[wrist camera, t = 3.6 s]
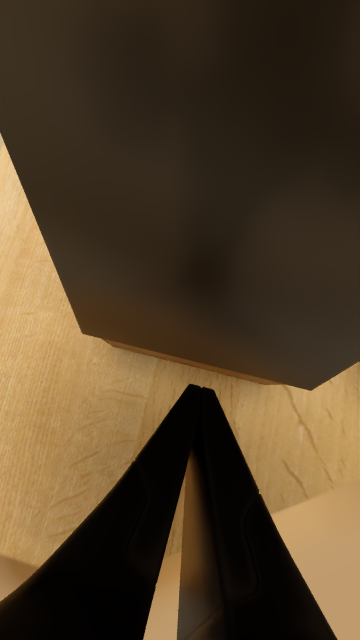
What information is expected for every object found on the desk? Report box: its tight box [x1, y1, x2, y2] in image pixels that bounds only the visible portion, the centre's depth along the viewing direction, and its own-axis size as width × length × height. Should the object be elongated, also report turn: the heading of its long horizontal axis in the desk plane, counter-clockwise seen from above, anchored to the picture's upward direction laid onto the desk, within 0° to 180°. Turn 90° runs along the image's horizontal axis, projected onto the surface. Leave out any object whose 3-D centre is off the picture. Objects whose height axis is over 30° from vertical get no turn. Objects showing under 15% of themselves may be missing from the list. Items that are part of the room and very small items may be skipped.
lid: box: [0, 0, 360, 391], centre depth 9 cm, size 14×14×1 cm
